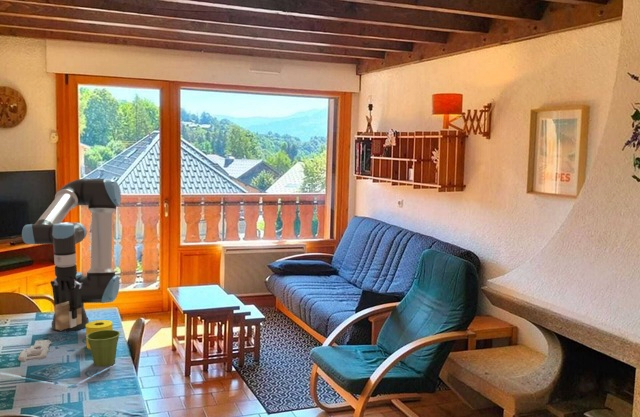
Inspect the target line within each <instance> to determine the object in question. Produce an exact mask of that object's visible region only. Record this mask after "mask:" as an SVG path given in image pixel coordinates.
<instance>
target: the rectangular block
mask: <svg viewBox="0 0 640 417" xmlns="http://www.w3.org/2000/svg"><path fill="white" fill-rule="evenodd" d="M69 310H70V304H69V301H68V302H64V303H61V304H57V305H54V313H55V328H56V329H58V330H64V329H67V328H70V325H69ZM81 323H82V304H81V308H79V309H77V318H76V325H78V324H81Z"/></svg>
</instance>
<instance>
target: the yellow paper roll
mask: <svg viewBox="0 0 640 417" xmlns="http://www.w3.org/2000/svg"><path fill="white" fill-rule="evenodd" d="M113 324H114V323H113V321H111V320H107V319H97V320H92V321H89V323H87V324H86V327H85V336H86V335H88V334H89V333H92V332H95V331H100V330H114V326H113ZM85 339H86V348H87V349H88V350H91V348H90V344H89V342H88V339H87V338H86V337H85Z"/></svg>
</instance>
